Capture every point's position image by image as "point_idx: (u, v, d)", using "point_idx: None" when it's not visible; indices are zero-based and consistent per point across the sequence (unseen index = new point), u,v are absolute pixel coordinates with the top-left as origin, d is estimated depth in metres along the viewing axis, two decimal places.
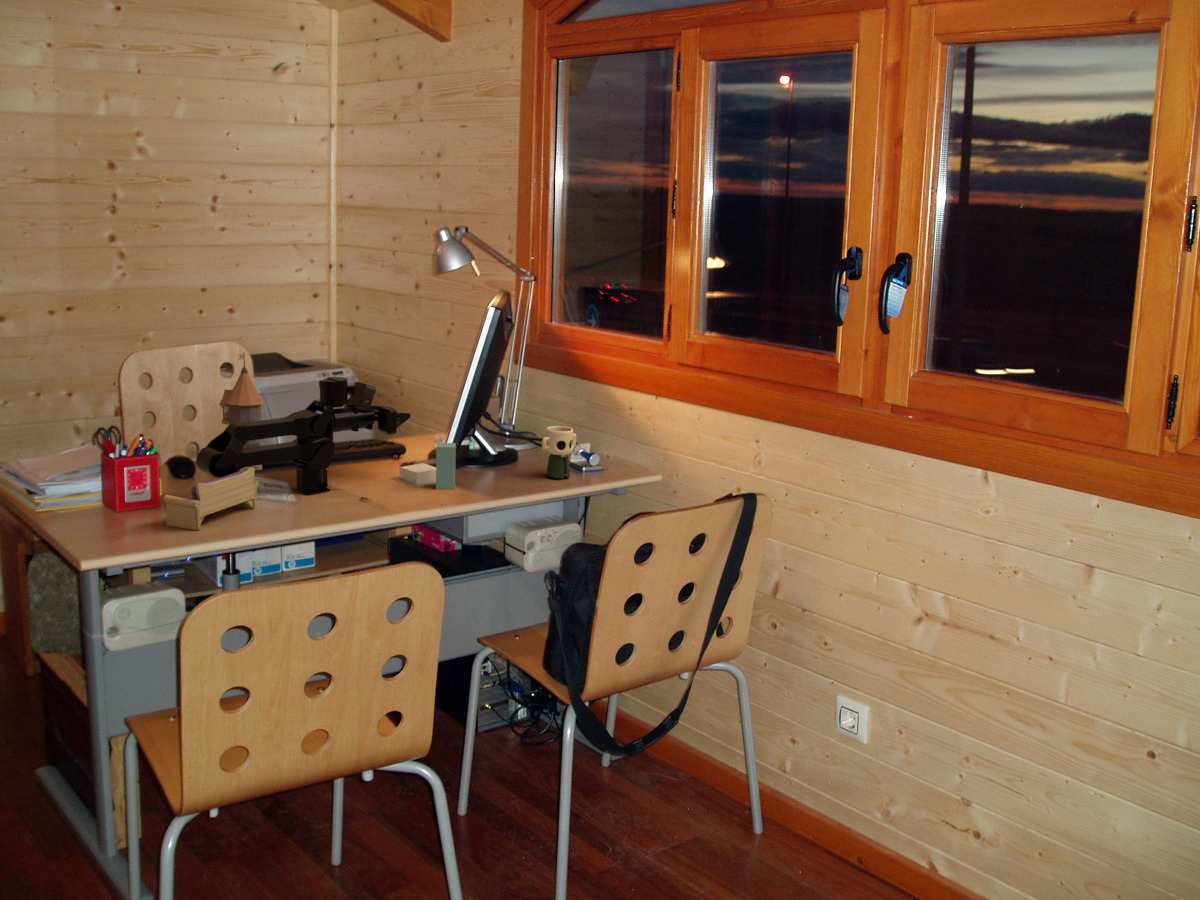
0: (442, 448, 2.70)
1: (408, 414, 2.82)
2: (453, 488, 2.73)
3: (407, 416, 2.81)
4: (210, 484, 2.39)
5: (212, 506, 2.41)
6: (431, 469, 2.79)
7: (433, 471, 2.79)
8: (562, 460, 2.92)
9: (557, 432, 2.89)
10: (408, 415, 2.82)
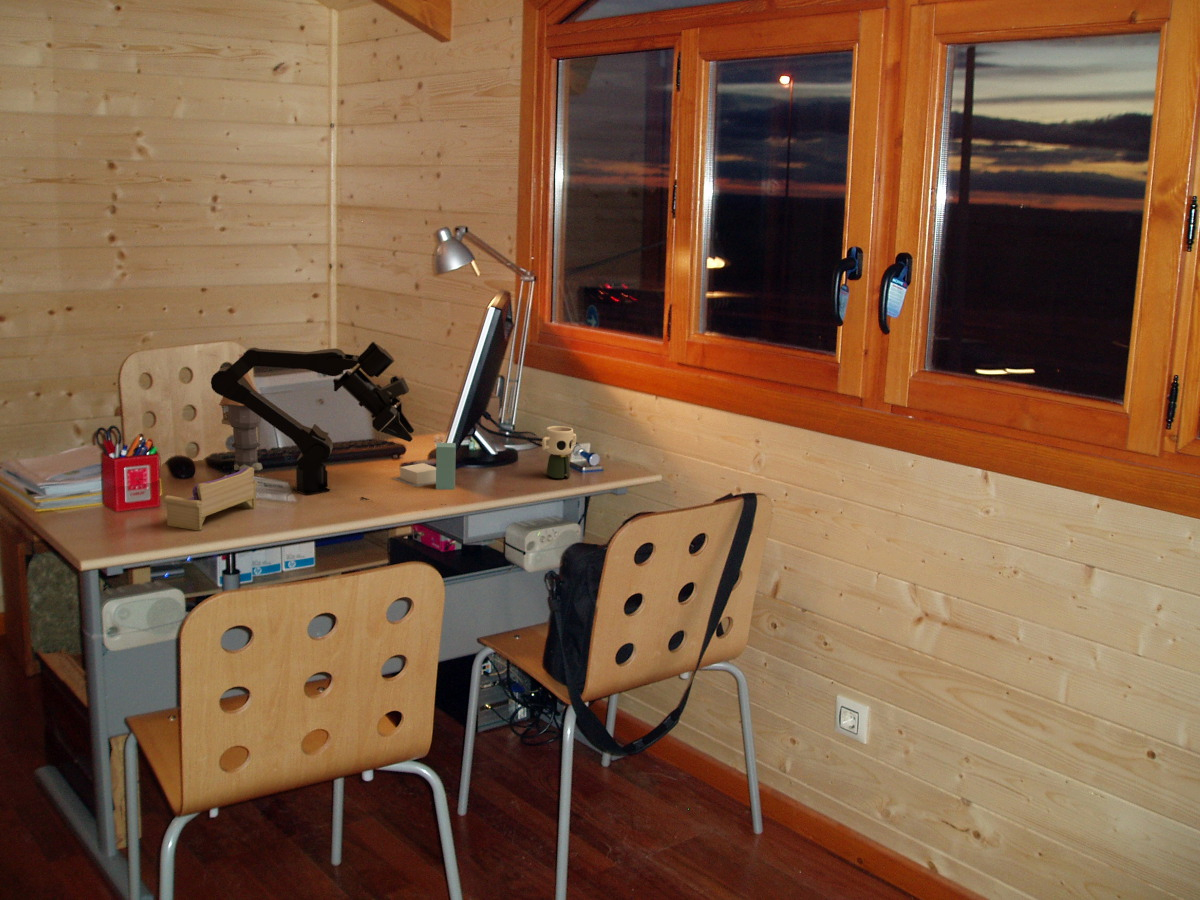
0: (442, 448, 2.70)
1: (410, 437, 2.67)
2: (453, 488, 2.73)
3: (407, 437, 2.66)
4: (211, 484, 2.39)
5: (213, 506, 2.41)
6: (431, 469, 2.79)
7: (433, 471, 2.79)
8: (562, 460, 2.92)
9: (557, 432, 2.89)
10: (409, 438, 2.67)
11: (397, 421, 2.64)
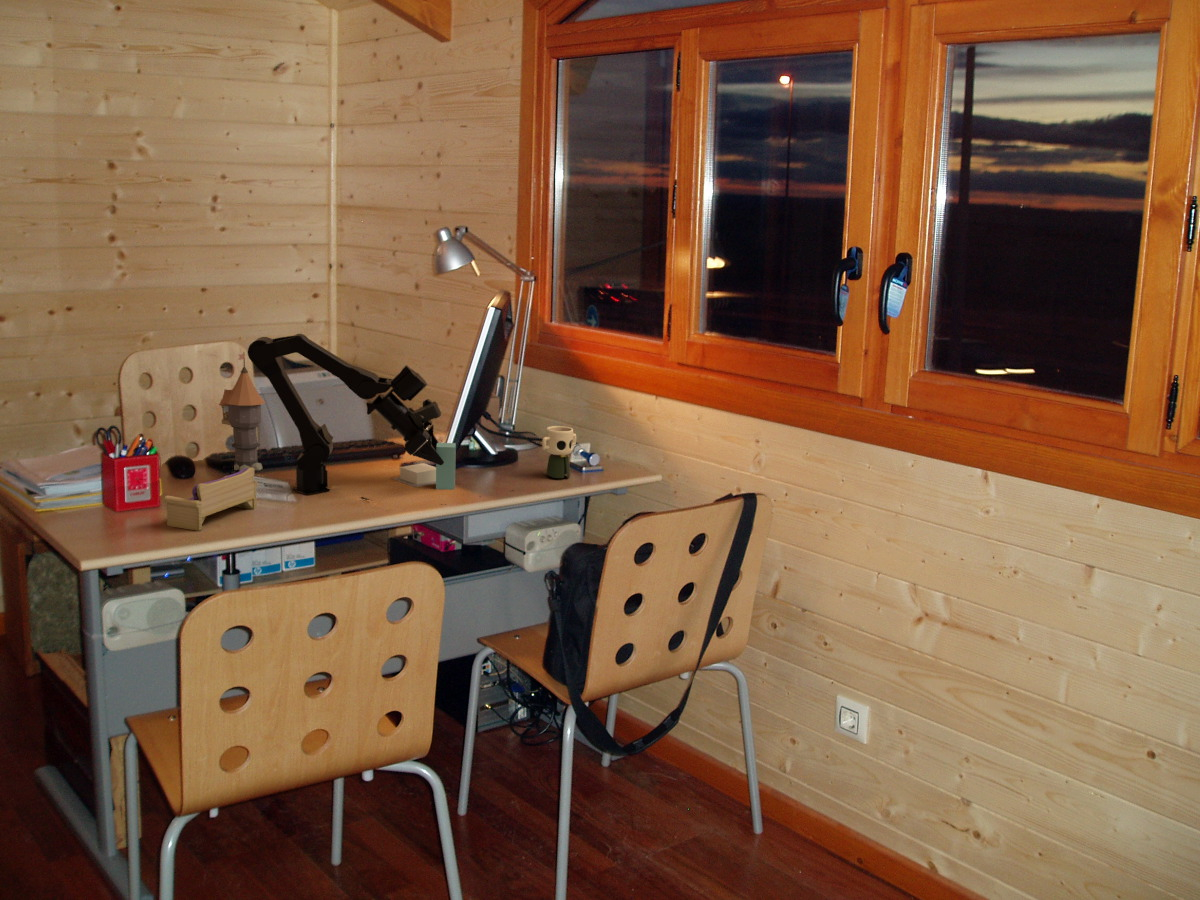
0: (442, 448, 2.70)
1: (441, 461, 2.68)
2: (453, 488, 2.73)
3: (439, 461, 2.68)
4: (211, 484, 2.39)
5: (213, 507, 2.41)
6: (431, 469, 2.79)
7: (433, 471, 2.79)
8: (562, 460, 2.92)
9: (557, 432, 2.89)
10: (440, 461, 2.68)
11: (429, 445, 2.66)
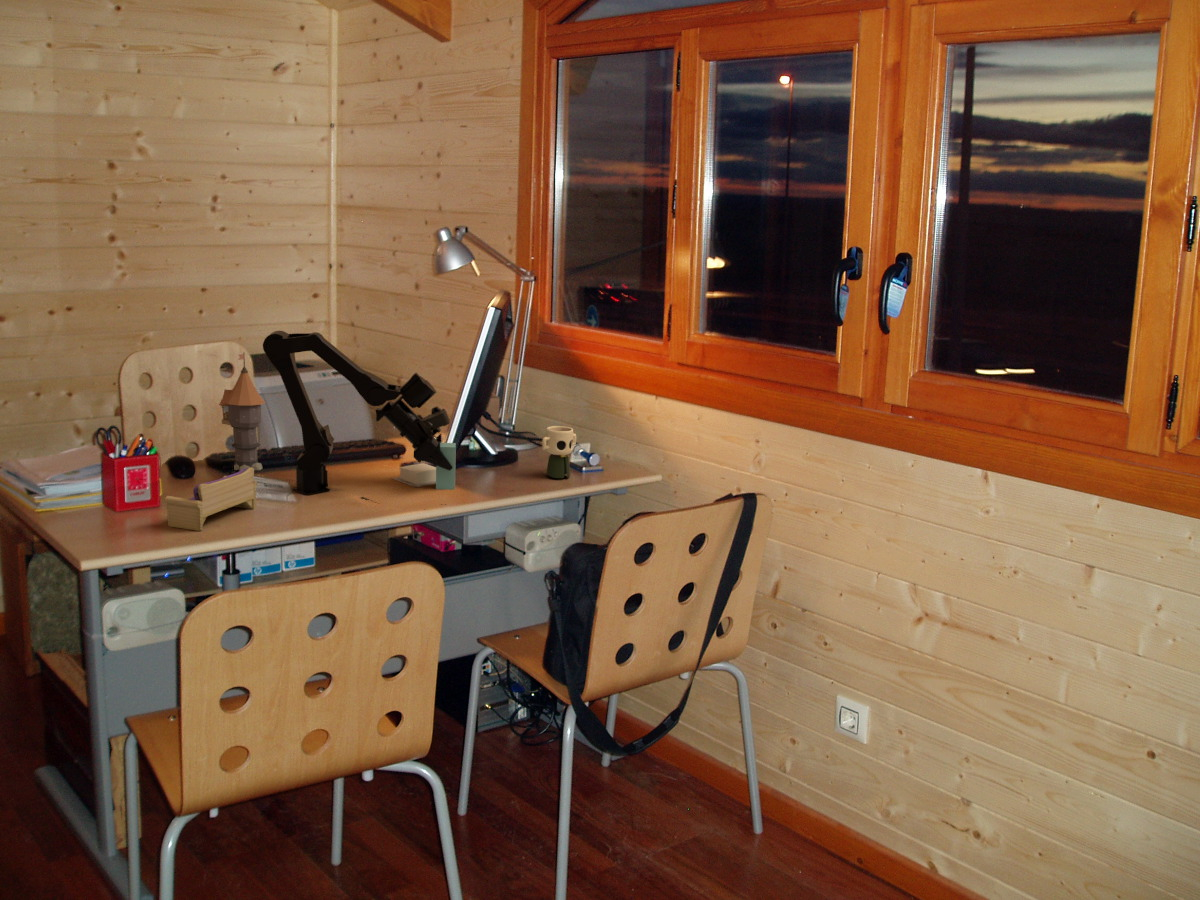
0: (442, 448, 2.70)
1: (450, 466, 2.71)
2: (453, 488, 2.73)
3: (447, 466, 2.71)
4: (212, 484, 2.39)
5: (214, 507, 2.41)
6: (431, 469, 2.79)
7: (433, 471, 2.79)
8: (562, 460, 2.92)
9: (557, 432, 2.89)
10: (449, 467, 2.71)
11: (438, 450, 2.68)
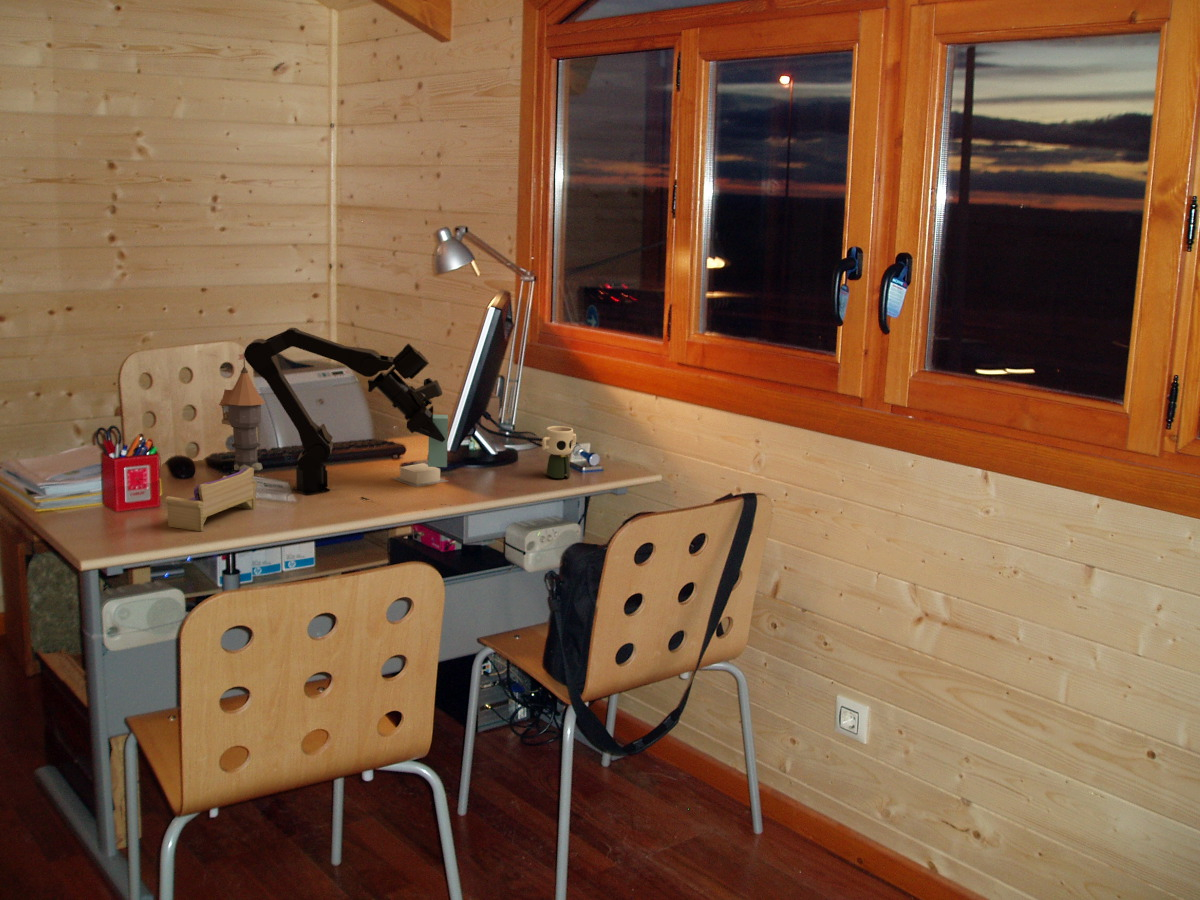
0: (435, 419, 2.70)
1: (442, 437, 2.70)
2: (445, 460, 2.72)
3: (440, 437, 2.70)
4: (212, 485, 2.39)
5: (214, 507, 2.41)
6: (431, 469, 2.79)
7: (433, 471, 2.79)
8: (562, 460, 2.92)
9: (557, 432, 2.89)
10: (442, 438, 2.70)
11: (431, 421, 2.67)
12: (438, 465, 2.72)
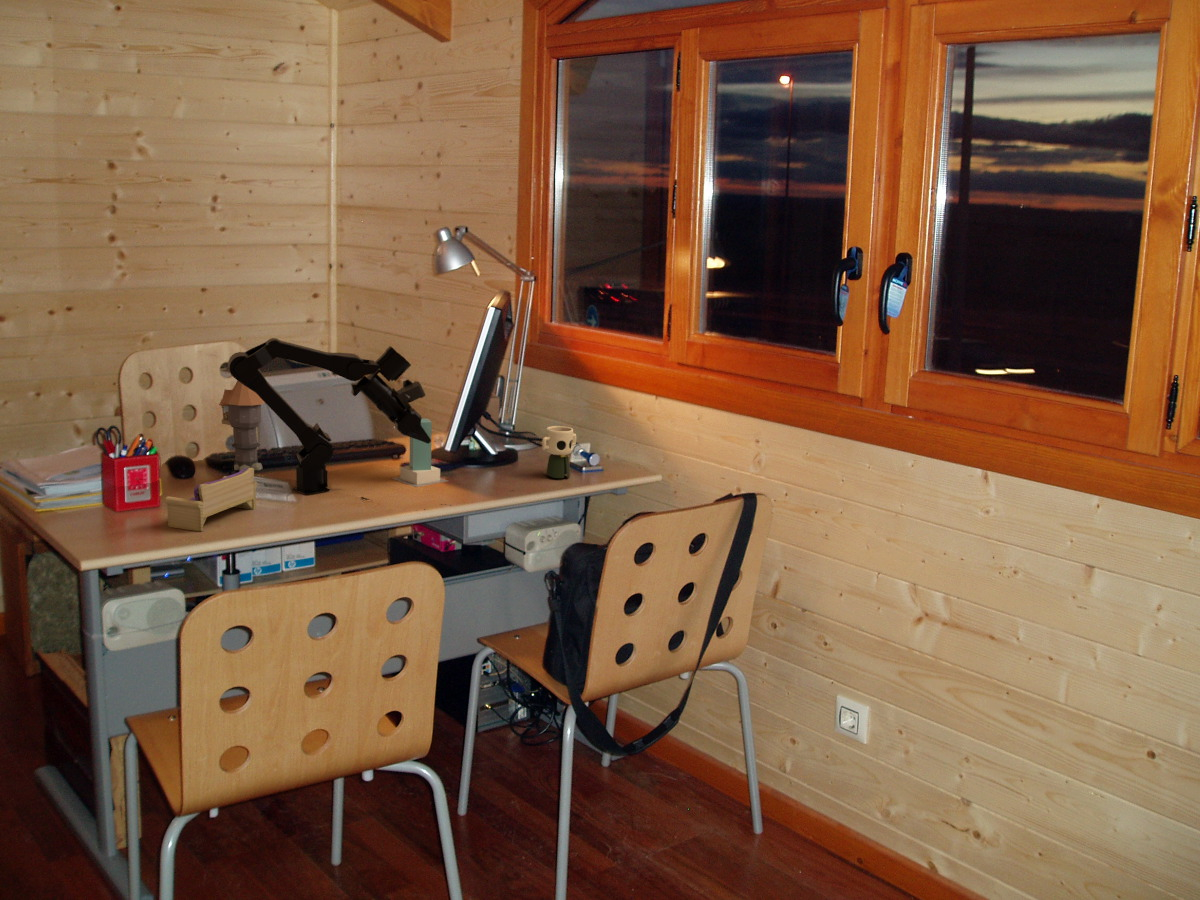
0: None
1: (429, 439, 2.74)
2: (430, 463, 2.78)
3: (426, 439, 2.73)
4: (212, 485, 2.39)
5: (214, 507, 2.41)
6: (431, 469, 2.79)
7: (433, 471, 2.79)
8: (562, 460, 2.92)
9: (557, 432, 2.89)
10: (428, 440, 2.74)
11: (419, 424, 2.70)
12: (422, 468, 2.78)
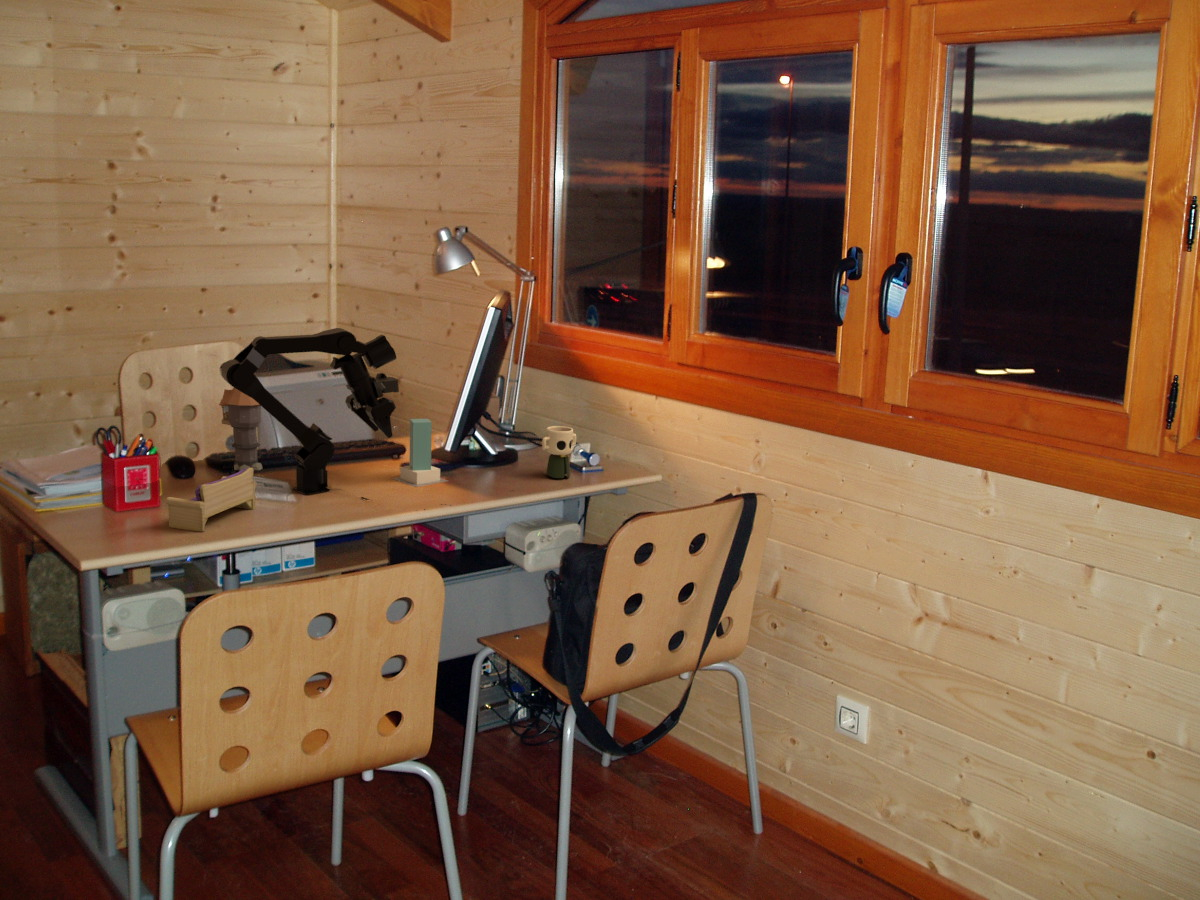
0: (419, 424, 2.75)
1: (391, 434, 2.73)
2: (430, 463, 2.78)
3: (389, 433, 2.72)
4: (213, 485, 2.39)
5: (215, 507, 2.41)
6: (431, 469, 2.79)
7: (433, 471, 2.79)
8: (562, 460, 2.92)
9: (557, 432, 2.89)
10: (390, 434, 2.73)
11: (389, 415, 2.70)
12: (422, 468, 2.78)
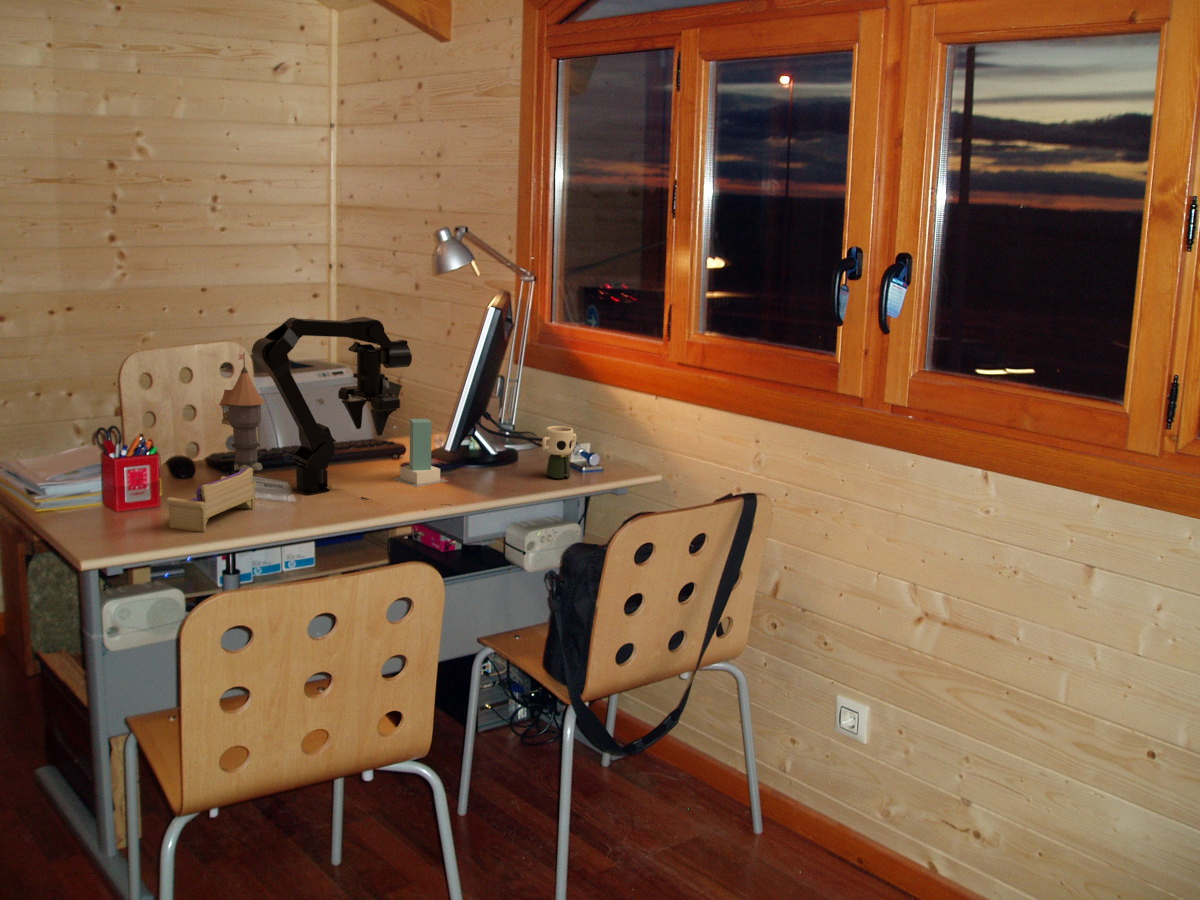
0: (419, 424, 2.75)
1: (381, 432, 2.74)
2: (430, 463, 2.78)
3: (380, 431, 2.74)
4: (214, 485, 2.39)
5: (216, 508, 2.40)
6: (431, 469, 2.79)
7: (433, 471, 2.79)
8: (562, 460, 2.92)
9: (557, 432, 2.89)
10: (381, 432, 2.74)
11: (389, 413, 2.73)
12: (422, 468, 2.78)
